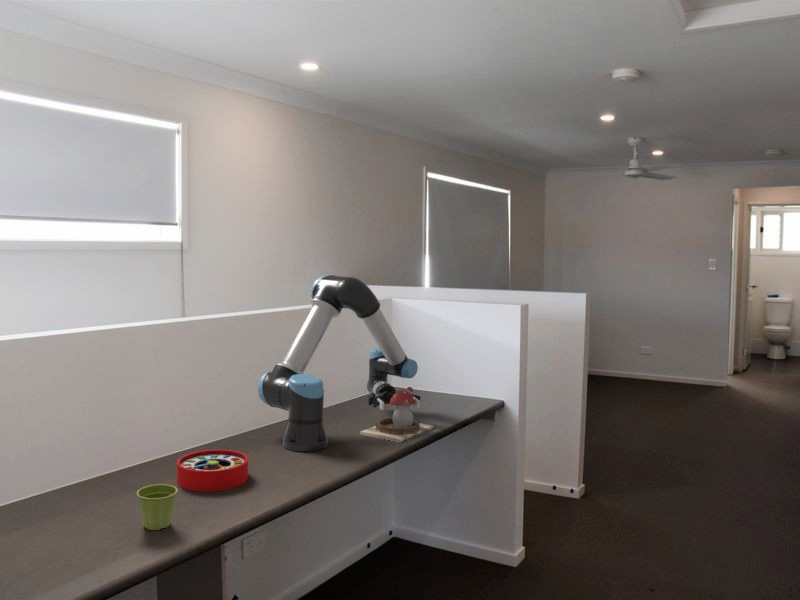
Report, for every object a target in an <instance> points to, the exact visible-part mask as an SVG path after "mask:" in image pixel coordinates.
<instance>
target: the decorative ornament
mask: <svg viewBox="0 0 800 600" xmlns="http://www.w3.org/2000/svg"><path fill="white" fill-rule="evenodd" d="M413 392H414V387H412V386H408V387H407V388H406V390H403V389H401V390H398V391H396V393H395V394H394V395H393V397H392V398H391V400H390V403H389V404H390V406H395V407H396V408H395V410H394V412H393V414H392V417H391V418H392V420H393V428H408V427H412V423H413V420H415V418H414V414H413V412H412V410H411V408H410V406H414V405H413V404H415V400H414V398H413V396H412V395H411V394H412V393H413Z"/></svg>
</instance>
